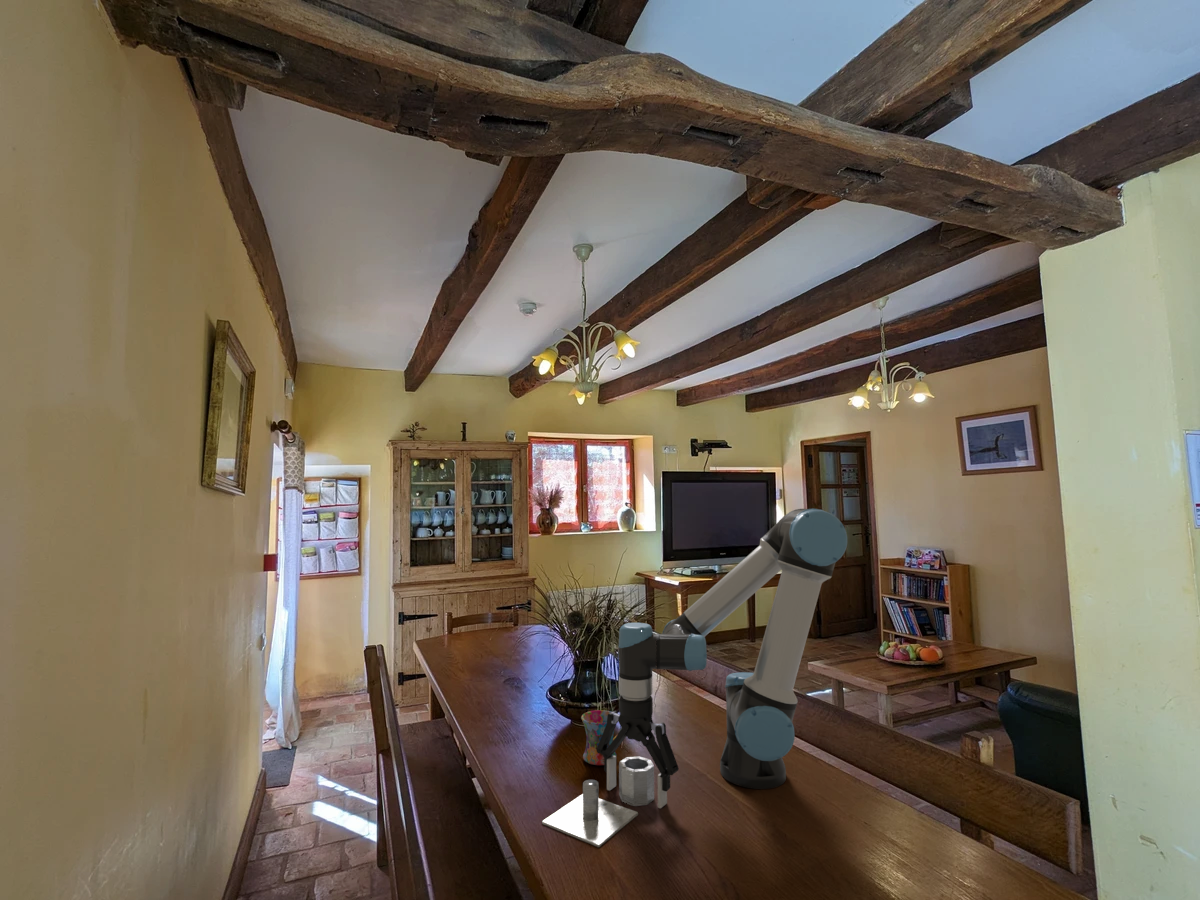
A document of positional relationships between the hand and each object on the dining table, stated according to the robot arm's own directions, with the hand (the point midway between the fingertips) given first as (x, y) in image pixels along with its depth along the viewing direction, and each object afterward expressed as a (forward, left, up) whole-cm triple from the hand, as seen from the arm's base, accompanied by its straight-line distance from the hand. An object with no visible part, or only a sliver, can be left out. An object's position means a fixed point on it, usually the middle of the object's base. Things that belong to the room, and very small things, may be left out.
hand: (636, 796), depth 127 cm
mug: (+17, -12, 0) cm, 20 cm away
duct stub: (+3, +13, 0) cm, 13 cm away
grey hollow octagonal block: (0, 0, 0) cm, 0 cm away
